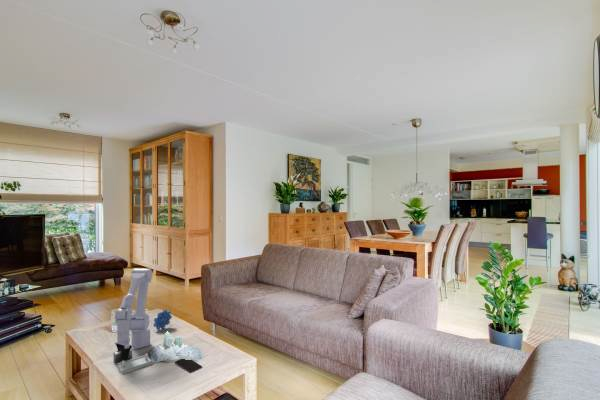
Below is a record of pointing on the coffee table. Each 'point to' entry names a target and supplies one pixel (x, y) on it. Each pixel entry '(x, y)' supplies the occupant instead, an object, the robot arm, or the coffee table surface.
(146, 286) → the robot arm
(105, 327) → the coffee table surface
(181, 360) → the smartphone
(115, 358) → the drive
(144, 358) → the tray
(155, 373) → the coffee table surface
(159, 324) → the grapes
